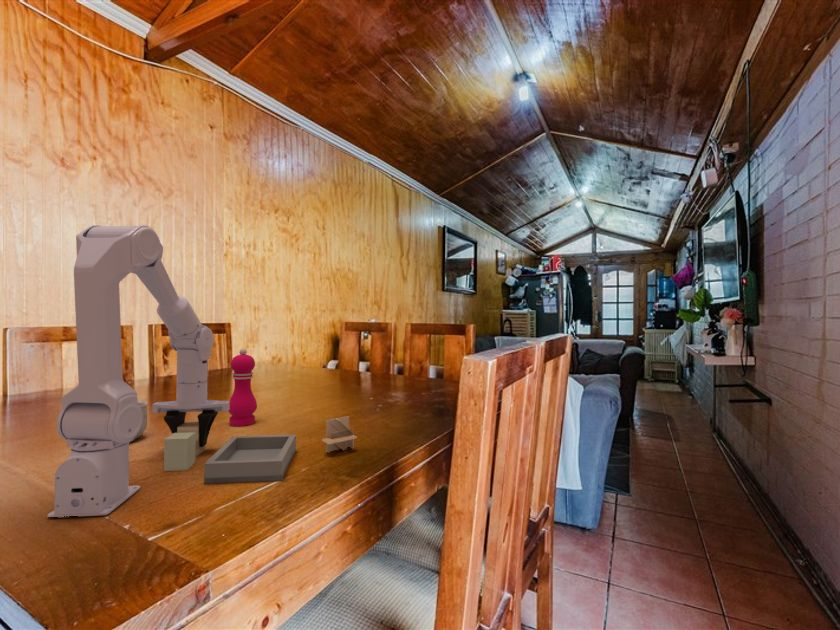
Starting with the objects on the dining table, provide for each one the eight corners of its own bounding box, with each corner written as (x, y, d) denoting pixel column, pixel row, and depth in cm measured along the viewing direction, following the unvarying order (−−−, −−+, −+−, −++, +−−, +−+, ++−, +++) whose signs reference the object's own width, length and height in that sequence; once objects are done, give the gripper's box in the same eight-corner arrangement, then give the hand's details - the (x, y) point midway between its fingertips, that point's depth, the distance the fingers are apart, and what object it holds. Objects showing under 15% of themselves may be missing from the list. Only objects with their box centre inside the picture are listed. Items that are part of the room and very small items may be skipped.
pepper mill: (227, 421, 113) (228, 347, 112) (255, 418, 116) (256, 347, 116) (227, 428, 106) (228, 350, 106) (257, 425, 109) (258, 349, 109)
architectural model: (357, 453, 90) (357, 419, 90) (328, 460, 85) (329, 424, 85) (349, 449, 93) (349, 416, 92) (320, 456, 88) (321, 421, 88)
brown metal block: (197, 455, 86) (198, 426, 86) (177, 456, 85) (177, 427, 85) (205, 449, 90) (205, 421, 90) (185, 450, 89) (185, 422, 89)
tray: (281, 480, 74) (281, 461, 74) (203, 483, 72) (204, 463, 72) (295, 450, 90) (295, 434, 90) (232, 452, 88) (232, 436, 88)
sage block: (186, 470, 78) (187, 438, 78) (164, 471, 77) (164, 439, 77) (195, 462, 82) (195, 432, 82) (173, 463, 81) (173, 432, 81)
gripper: (234, 378, 92) (233, 439, 92) (164, 378, 90) (163, 441, 90) (223, 383, 85) (223, 449, 85) (147, 384, 83) (146, 451, 83)
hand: (191, 446), depth 87 cm, fingers closed on brown metal block, 4 cm apart
